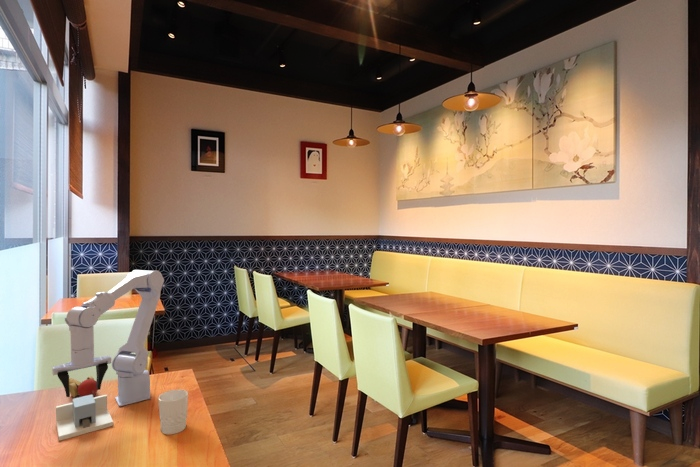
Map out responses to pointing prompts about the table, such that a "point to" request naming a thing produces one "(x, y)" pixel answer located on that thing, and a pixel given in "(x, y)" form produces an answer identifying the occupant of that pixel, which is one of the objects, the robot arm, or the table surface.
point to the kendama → (82, 387)
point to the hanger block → (84, 409)
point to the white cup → (173, 411)
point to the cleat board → (72, 431)
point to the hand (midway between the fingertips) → (83, 392)
